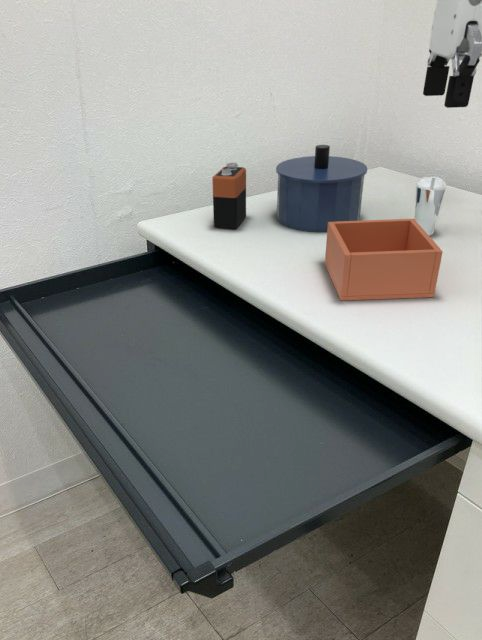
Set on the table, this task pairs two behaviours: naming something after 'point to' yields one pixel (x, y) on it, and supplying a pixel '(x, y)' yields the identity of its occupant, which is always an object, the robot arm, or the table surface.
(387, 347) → the table surface
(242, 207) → the battery
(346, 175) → the pot lid
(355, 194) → the pot
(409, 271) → the bin
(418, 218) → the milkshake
